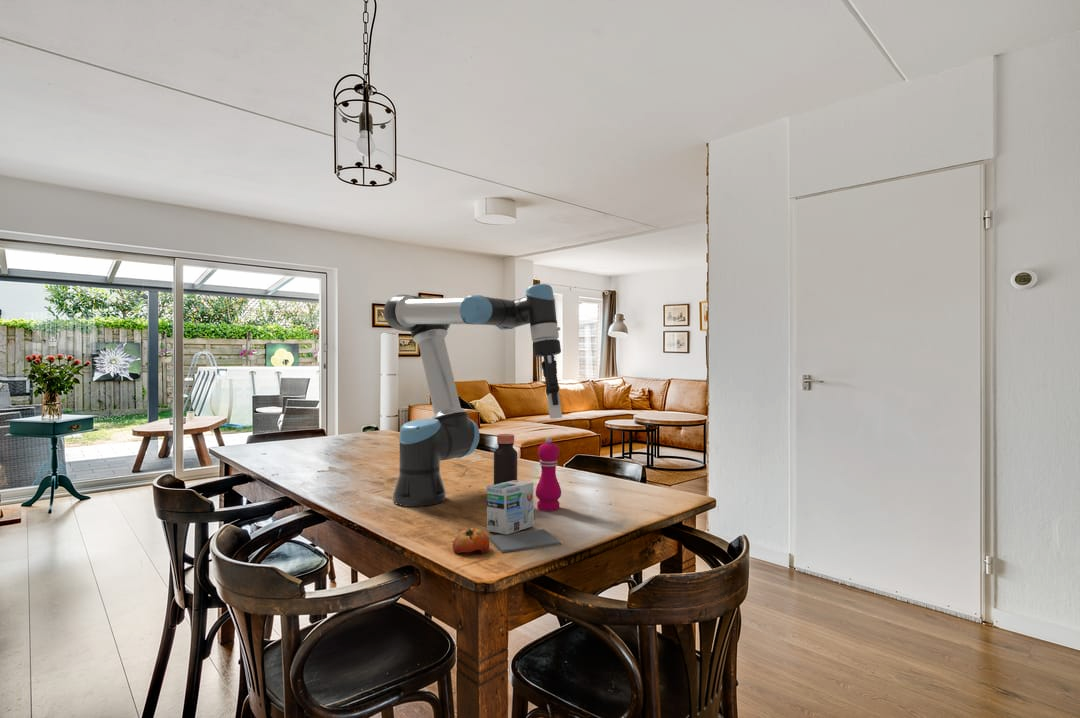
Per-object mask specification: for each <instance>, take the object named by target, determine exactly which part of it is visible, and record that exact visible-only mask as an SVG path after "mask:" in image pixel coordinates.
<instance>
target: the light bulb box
mask: <svg viewBox="0 0 1080 718" xmlns="http://www.w3.org/2000/svg"><path fill="white" fill-rule="evenodd" d="M534 509H535V508H534V482H530V481H522V480H517V481H516V480H513V481H509V482H504V483H500V484H496V485H494V484H491V485H488V486H486V523H487V524H486V530H487V531H488V532H493V533H496V534H497V533H498V534H500V535H501V534H505V535H508V534H510V533H517V532H521V531H523V530H526V529H528V528H532V527H534V526H535V524H534V522H535V521H534V518H535V517H534V512H535V511H534Z"/></svg>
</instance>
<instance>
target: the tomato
mask: <svg viewBox="0 0 1080 718" xmlns="http://www.w3.org/2000/svg"><path fill="white" fill-rule="evenodd" d="M452 550H453V553H454V554H460V553H473V552H474V551H477V550H478V551H481V553H480V556H483V555H484V554H485V553H489V550H490V540H489V538H488V535H487V534H486V533H485V532H484V530H482V529H478V528H472V527H471V528H466V529H463V530H462V531H460V532H459V533H457V534H456V536H455V537H454V540H453V543H452Z"/></svg>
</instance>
